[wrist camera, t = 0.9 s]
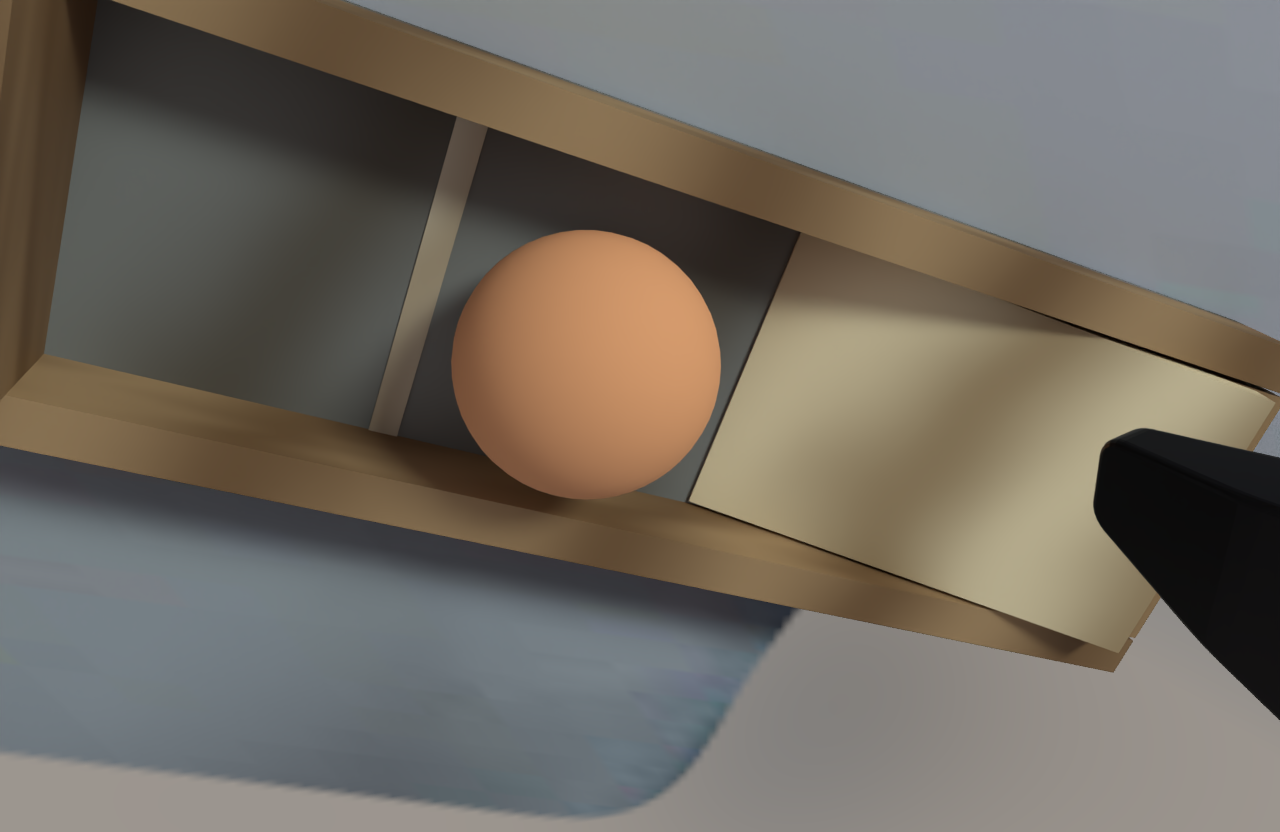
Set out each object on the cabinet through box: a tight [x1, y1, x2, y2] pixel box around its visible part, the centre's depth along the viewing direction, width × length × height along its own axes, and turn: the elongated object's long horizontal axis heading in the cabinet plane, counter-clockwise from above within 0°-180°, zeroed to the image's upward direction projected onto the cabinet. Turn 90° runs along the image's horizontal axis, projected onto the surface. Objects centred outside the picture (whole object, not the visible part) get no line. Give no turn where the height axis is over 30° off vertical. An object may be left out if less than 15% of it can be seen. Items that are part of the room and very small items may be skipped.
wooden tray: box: [0, 0, 1280, 672], centre depth 20 cm, size 27×9×5 cm, turn 70°
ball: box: [451, 230, 721, 500], centre depth 19 cm, size 5×5×5 cm
